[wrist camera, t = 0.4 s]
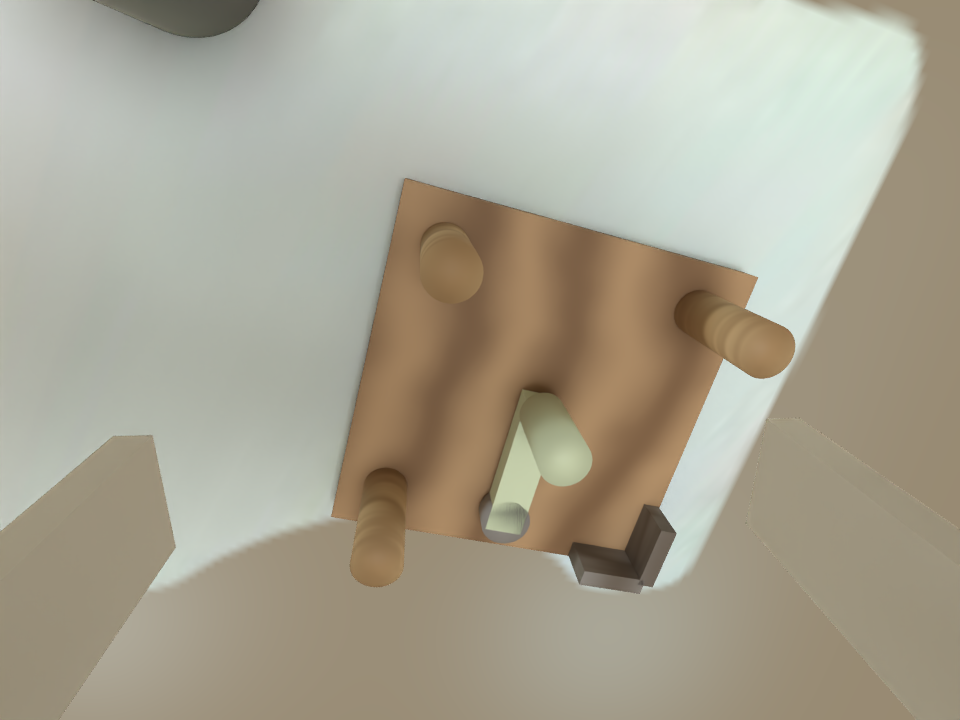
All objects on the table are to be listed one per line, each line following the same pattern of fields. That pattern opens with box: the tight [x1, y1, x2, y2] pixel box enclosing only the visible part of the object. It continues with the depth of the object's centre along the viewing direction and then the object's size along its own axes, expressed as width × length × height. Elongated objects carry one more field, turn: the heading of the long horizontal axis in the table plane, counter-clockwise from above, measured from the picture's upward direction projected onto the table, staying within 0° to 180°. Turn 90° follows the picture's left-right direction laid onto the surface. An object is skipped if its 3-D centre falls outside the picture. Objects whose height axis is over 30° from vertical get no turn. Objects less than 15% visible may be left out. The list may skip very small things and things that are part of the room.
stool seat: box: [331, 178, 795, 594], centre depth 33 cm, size 22×22×10 cm
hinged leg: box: [479, 389, 592, 543], centre depth 33 cm, size 11×3×7 cm, turn 165°
